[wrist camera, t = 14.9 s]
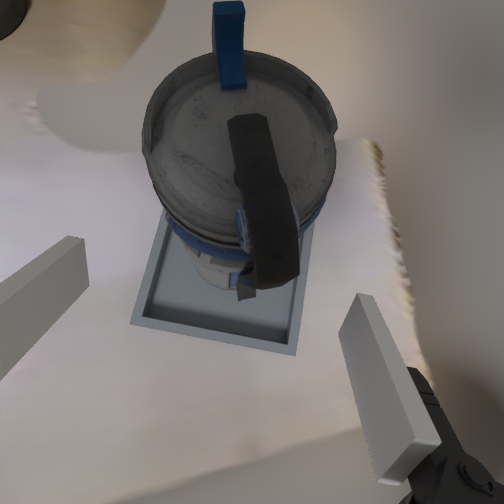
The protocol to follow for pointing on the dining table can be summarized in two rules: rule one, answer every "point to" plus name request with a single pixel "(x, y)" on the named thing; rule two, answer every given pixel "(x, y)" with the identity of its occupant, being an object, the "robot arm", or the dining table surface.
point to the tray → (217, 300)
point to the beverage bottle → (240, 158)
